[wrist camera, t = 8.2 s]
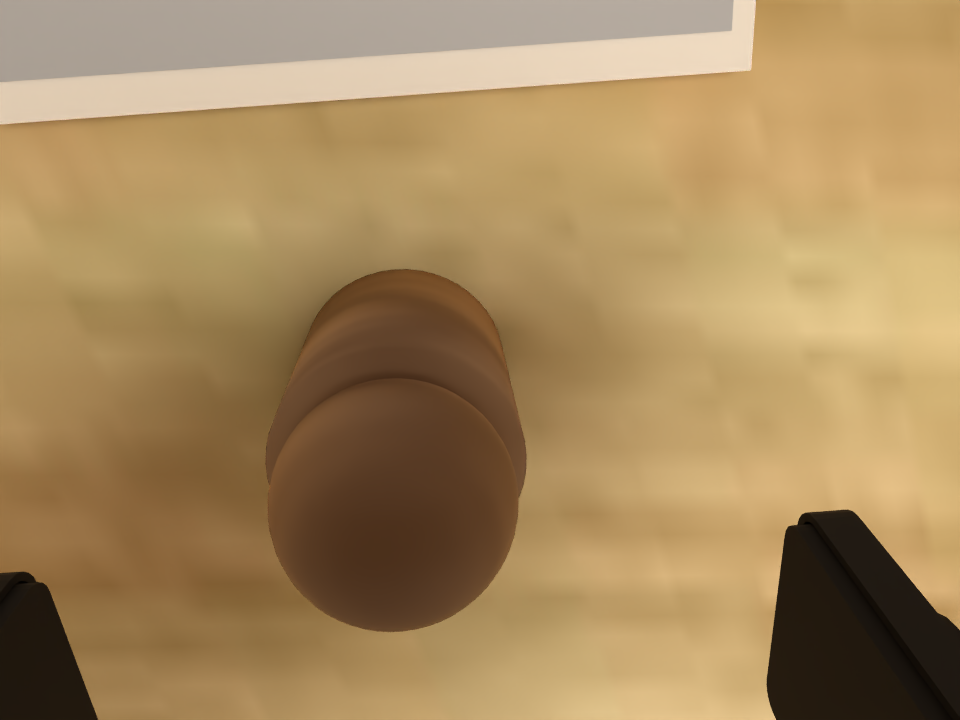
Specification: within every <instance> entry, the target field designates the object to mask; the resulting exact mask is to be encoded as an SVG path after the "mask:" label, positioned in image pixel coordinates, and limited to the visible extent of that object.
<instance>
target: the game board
mask: <svg viewBox="0 0 960 720" xmlns="http://www.w3.org/2000/svg"><path fill="white" fill-rule="evenodd" d="M755 5H756V0H0V124H12V123H26V122H40V121H54V120H68V119H82V118H95V117H109V116H123V115H137V114H151V113H165V112H179V111H193V110H207V109H221V108H235V107H248V106H262V105H276V104H290V103H304V102H318V101H332V100H346V99H360V98H374V97H388V96H402V95H415V94H429V93H443V92H457V91H471V90H485V89H499V88H513V87H527V86H541V85H555V84H568V83H582V82H596V81H610V80H624V79H638V78H652V77H666V76H680V75H694V74H708V73H722V72H735V71H749V70H751V62H752V48H753V34H754V20H755Z"/></svg>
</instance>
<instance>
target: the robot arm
mask: <svg viewBox="0 0 960 720" xmlns="http://www.w3.org/2000/svg"><path fill="white" fill-rule="evenodd" d="M767 693H768V698H769V702H770V705H771V708H772V711H773V713H774V716H775V718H776V720H960V630H959V629H958V628H957V627H956V626H955V625H954V624H953V623H952V622H951V621H950V620H949V619H948V618H947V617H945V616H943V615H941V614H939V613H937V612H936V611H935V609H934V608H933V607H932V606H931V604H930V603H929V602H928V601H927V600H926V598H925V597H924V596H923V595H922V593H921V592H920V591H919V590H918V589H917V587H916V586H915V585H914V584H913V583H912V581H911V580H910V579H909V578H908V576H907V575H906V574H905V573H904V572H903V570H902V569H901V568H900V567H899V565H898V564H897V563H896V562H895V561H894V559H893V558H892V557H891V556H890V554H889V553H888V552H887V551H886V550H885V548H884V547H883V546H882V545H881V543H880V542H879V541H878V540H877V539H876V537H875V536H874V535H873V534H872V532H871V531H870V530H869V529H868V528H867V526H866V525H865V524H864V523H863V521H862V520H861V519H860V518H859V517H858V516H857V515H856V514H855V513H854V512H853V511H850V510H836V511H823V512H810V513H804V514H802V515H801V517H800V518H799V521H798V525H793V526H789V527H788V528H787V530H786V533H785V538H784V546H783V554H782V562H781V570H780V578H779V586H778V594H777V602H776V610H775V618H774V626H773V634H772V642H771V650H770V658H769V666H768V674H767ZM0 720H98V718H97V716H96V713H95V711H94V708H93V705H92V703H91V700H90V697H89V695H88V692H87V689H86V687H85V684H84V681H83V679H82V676H81V673H80V671H79V668H78V665H77V663H76V660H75V657H74V655H73V652H72V649H71V647H70V644H69V641H68V639H67V636H66V633H65V631H64V628H63V625H62V623H61V620H60V617H59V615H58V612H57V609H56V607H55V604H54V601H53V599H52V596H51V593H50V591H49V589H48V587H47V586H46V585H45V584H44V583H40V582H36V580H35V579H34V577H33V576H32V575H31V574H29V573H27V572H12V573H0Z"/></svg>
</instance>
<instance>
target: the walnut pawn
mask: <svg viewBox="0 0 960 720" xmlns="http://www.w3.org/2000/svg"><path fill="white" fill-rule="evenodd" d="M266 470H267V478H268V482H269V485H270V487H269V493H268V522H269V529H270V534H271V538H272V541H273V545H274V548H275V552H276V554H277V557H278V559H279V561H280V563H281V565H282V567H283V569H284V571H285V572H286V574H287V575H288V577H289V579H290V580H291V582H292V583H293V584H294V586H295V587H296V588H297V589H298V590H299V591H300V593H301V594H302V595H303V596H305V597H306V598H307V599H308V600H309V601H310V602H311V603H312V604H313V605H315V606H316V607H317V608H318V609H320V610H321V611H323V612H324V613H326V614H327V615H329V616H331V617H333V618H335V619H337V620H338V621H341V622H344V623H346V624H349V625H351V626H355V627H359V628H362V629H367V630H373V631H382V632H400V631H408V630H414V629H419V628H423V627H427V626H430V625H433V624H435V623H438V622H441V621H443V620H445V619H447V618H449V617H451V616H453V615H454V614H456V613H457V612H459V611H461V610H462V609H464V608H465V607H466V606H468V605H469V604H470V603H471V602H472V601H474V600H475V599H476V598H477V597H478V596H479V595H480V594H481V593H482V592H483V591H484V590H485V589H486V588H487V587H488V585H489V584H490V583H491V581H492V580H493V579H494V577H495V576H496V574H497V573H498V571H499V570H500V569H501V567H502V565H503V563H504V561H505V559H506V557H507V555H508V552H509V550H510V547H511V544H512V541H513V538H514V535H515V529H516V524H517V517H518V500H519V496H520V493H521V490H522V487H523V484H524V479H525V473H526V448H525V440H524V436H523V432H522V428H521V424H520V419H519V415H518V411H517V407H516V403H515V399H514V395H513V390H512V386H511V382H510V378H509V374H508V370H507V366H506V361H505V357H504V353H503V349H502V345H501V341H500V338H499V334H498V331H497V329H496V327H495V325H494V322H493V321H492V319H491V317H490V316H489V314H488V312H487V311H486V310H485V308H484V307H483V306H482V305H481V304H480V302H479V301H478V300H477V299H476V298H475V297H474V296H472V295H471V294H470V293H469V292H468V291H466V290H465V289H464V288H462V287H461V286H459V285H458V284H456V283H454V282H452V281H450V280H448V279H446V278H443V277H441V276H438V275H436V274H432V273H428V272H424V271H417V270H408V269H404V270H388V271H381V272H377V273H374V274H370V275H367V276H365V277H362V278H360V279H357V280H355V281H353V282H352V283H350V284H348V285H347V286H345V287H343V288H342V289H341V290H340V291H338V292H337V293H336V294H335V295H333V296H332V297H331V298H330V299H329V301H328V302H327V303H326V304H325V305H324V306H323V308H322V309H321V310H320V312H319V313H318V314H317V316H316V318H315V320H314V322H313V324H312V326H311V328H310V331H309V333H308V336H307V338H306V341H305V343H304V346H303V348H302V351H301V353H300V356H299V358H298V361H297V363H296V366H295V368H294V371H293V373H292V376H291V378H290V381H289V383H288V385H287V388H286V390H285V393H284V395H283V398H282V400H281V403H280V405H279V408H278V410H277V413H276V415H275V418H274V420H273V423H272V426H271V429H270V432H269V436H268V441H267V447H266Z"/></svg>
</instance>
